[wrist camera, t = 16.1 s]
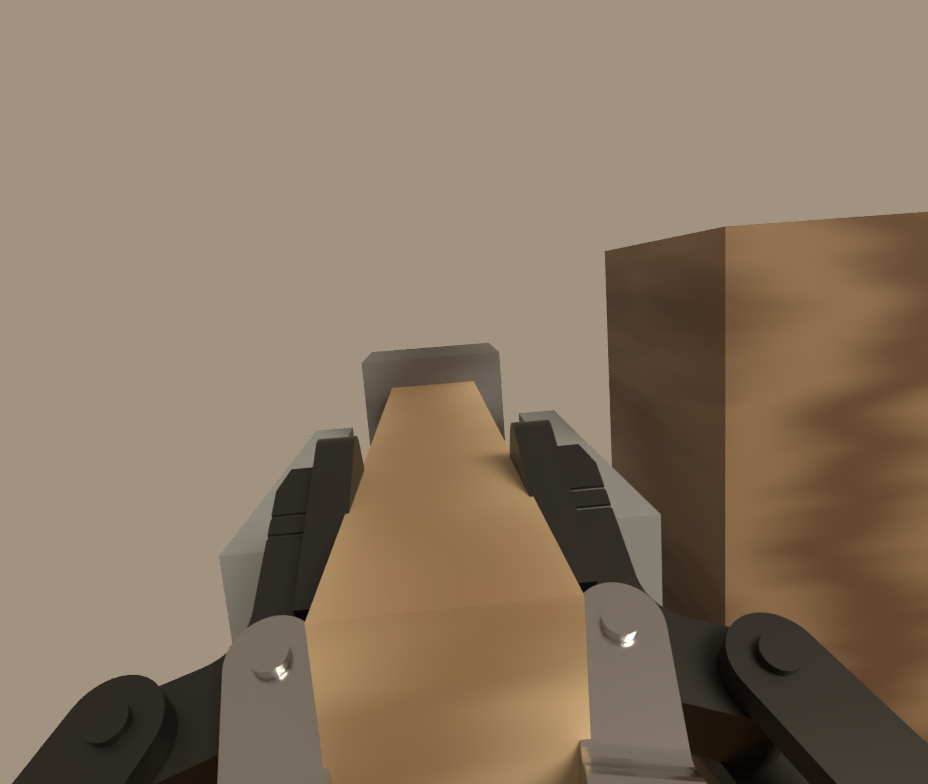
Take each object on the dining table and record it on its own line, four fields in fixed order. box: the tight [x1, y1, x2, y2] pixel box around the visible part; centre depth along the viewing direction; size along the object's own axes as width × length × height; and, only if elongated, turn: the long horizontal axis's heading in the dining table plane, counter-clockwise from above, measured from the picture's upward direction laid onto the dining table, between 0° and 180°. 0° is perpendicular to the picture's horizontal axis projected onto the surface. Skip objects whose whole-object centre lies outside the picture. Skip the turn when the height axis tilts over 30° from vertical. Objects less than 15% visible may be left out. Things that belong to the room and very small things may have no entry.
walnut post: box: [605, 212, 928, 784], centre depth 24 cm, size 10×11×30 cm
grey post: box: [219, 410, 663, 643], centre depth 22 cm, size 10×12×24 cm
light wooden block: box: [305, 343, 591, 784], centre depth 17 cm, size 5×20×4 cm, turn 4°
